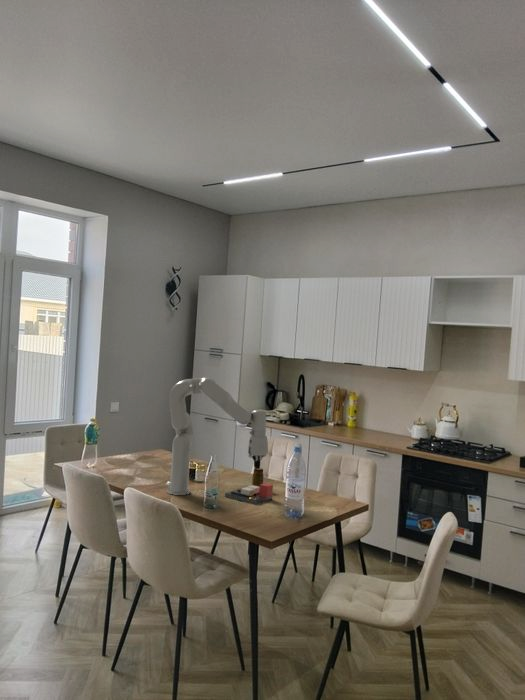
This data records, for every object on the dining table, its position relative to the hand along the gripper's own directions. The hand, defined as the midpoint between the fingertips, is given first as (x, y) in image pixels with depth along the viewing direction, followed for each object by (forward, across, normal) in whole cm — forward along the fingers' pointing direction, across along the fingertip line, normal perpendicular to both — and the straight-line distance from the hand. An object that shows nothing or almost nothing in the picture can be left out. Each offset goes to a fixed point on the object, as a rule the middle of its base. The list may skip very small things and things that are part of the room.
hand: (256, 467), depth 298 cm
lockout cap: (+14, +4, -4) cm, 15 cm away
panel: (+16, -3, +2) cm, 17 cm away
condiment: (+17, +11, +14) cm, 24 cm away
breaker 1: (+14, -5, +1) cm, 15 cm away
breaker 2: (+14, +1, +3) cm, 14 cm away
